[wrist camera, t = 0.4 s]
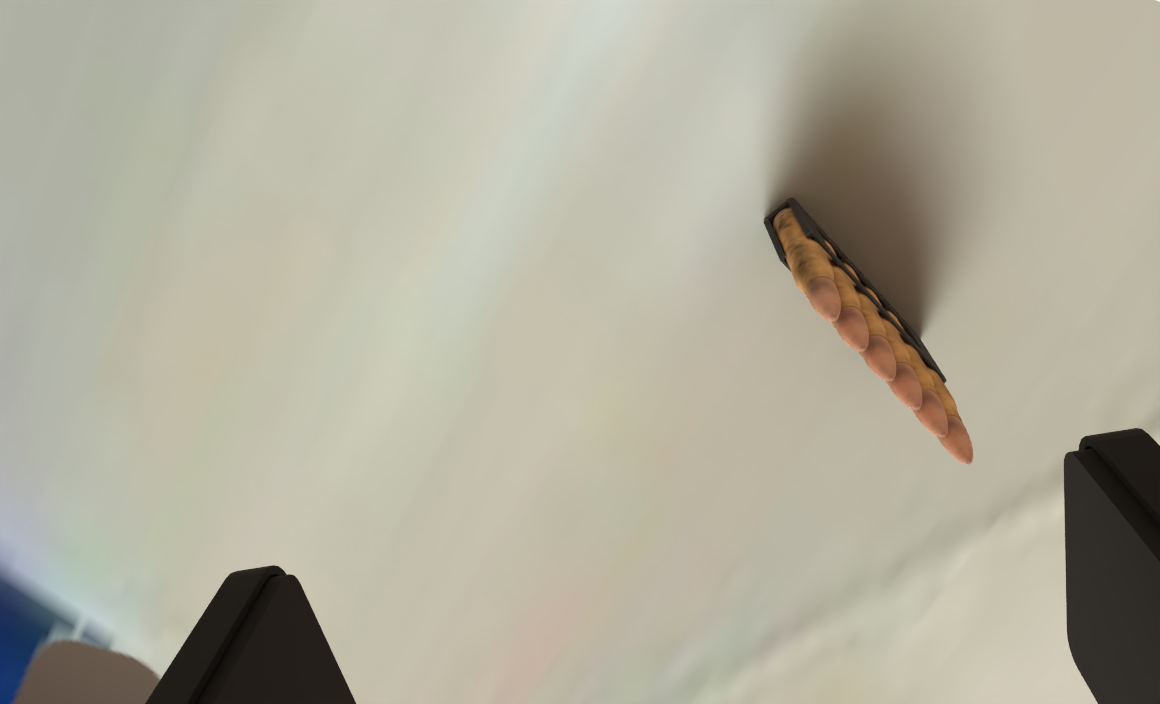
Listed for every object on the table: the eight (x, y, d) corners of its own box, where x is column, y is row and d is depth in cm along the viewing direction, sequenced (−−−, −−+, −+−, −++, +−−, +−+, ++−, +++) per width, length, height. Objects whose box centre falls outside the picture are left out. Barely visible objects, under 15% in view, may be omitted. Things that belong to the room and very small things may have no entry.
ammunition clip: (921, 339, 47) (1002, 464, 36) (892, 360, 48) (963, 489, 37) (791, 196, 44) (838, 285, 34) (762, 221, 45) (798, 316, 34)
